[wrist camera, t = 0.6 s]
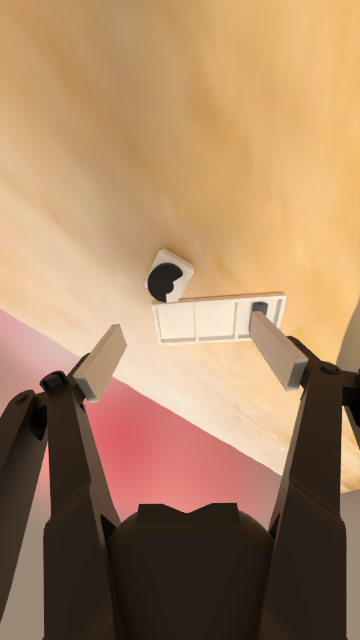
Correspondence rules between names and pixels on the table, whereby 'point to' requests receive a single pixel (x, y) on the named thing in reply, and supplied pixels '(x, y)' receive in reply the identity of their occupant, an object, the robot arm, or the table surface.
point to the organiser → (212, 318)
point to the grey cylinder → (260, 307)
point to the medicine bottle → (168, 276)
